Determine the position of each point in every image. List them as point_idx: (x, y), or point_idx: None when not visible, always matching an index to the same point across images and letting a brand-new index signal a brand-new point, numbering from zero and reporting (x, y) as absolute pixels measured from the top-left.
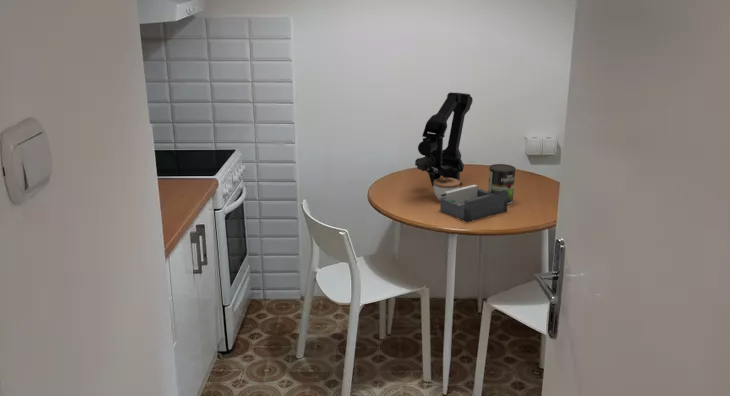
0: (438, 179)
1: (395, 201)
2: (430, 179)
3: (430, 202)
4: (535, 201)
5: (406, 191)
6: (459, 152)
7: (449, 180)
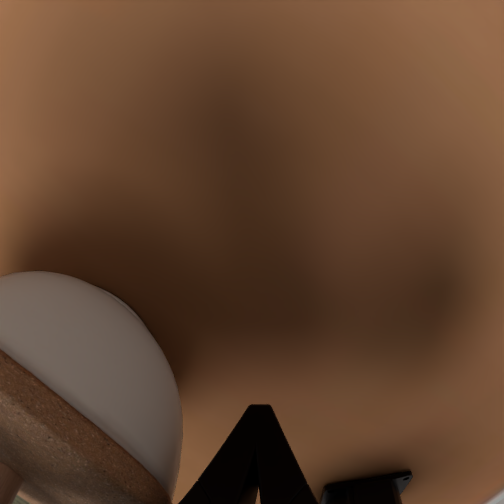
0: (74, 487)
1: None
2: (295, 472)
3: (78, 180)
4: None
5: (498, 182)
6: None
7: (33, 493)
